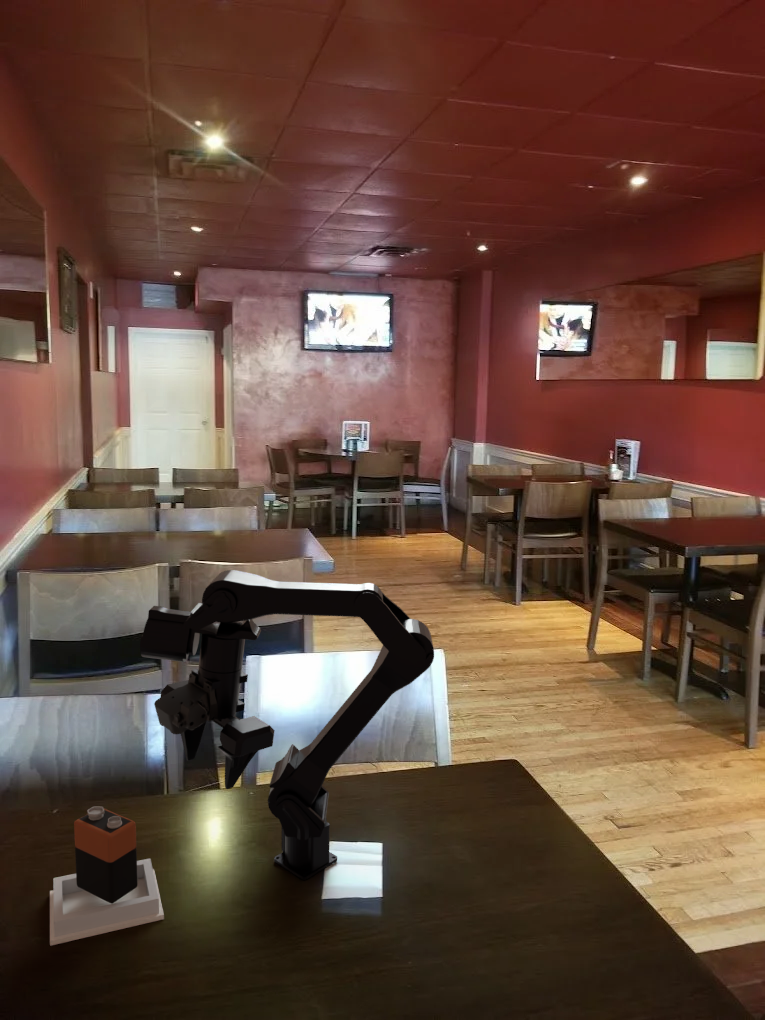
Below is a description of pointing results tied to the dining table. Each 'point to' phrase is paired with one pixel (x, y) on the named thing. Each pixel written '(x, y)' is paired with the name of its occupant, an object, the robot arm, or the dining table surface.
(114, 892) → the battery
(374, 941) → the dining table surface
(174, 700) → the robot arm
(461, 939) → the dining table surface
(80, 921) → the tray
